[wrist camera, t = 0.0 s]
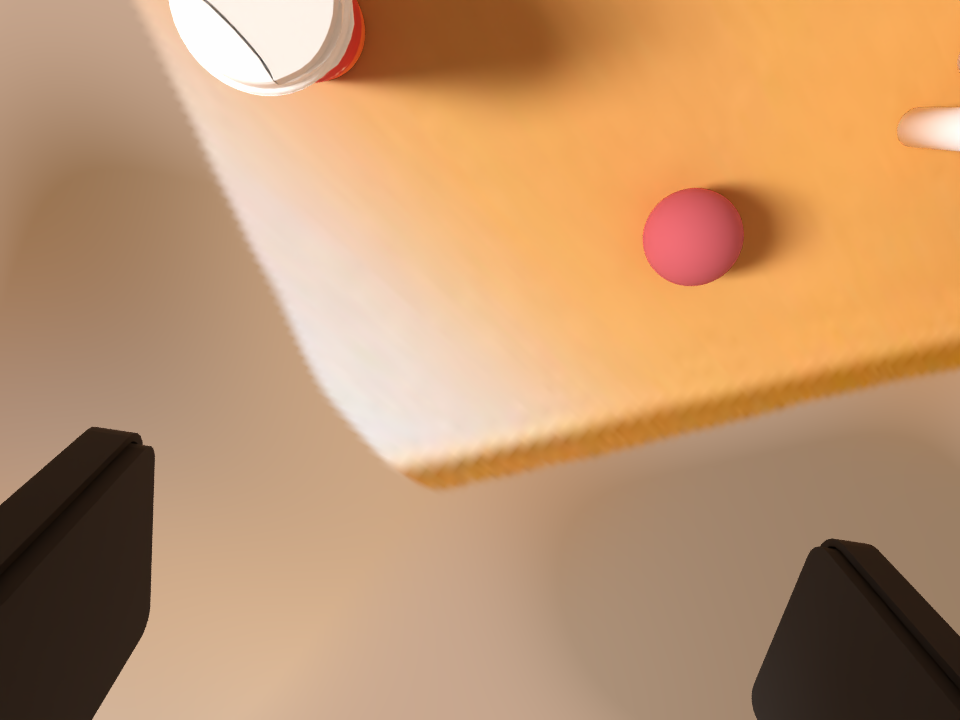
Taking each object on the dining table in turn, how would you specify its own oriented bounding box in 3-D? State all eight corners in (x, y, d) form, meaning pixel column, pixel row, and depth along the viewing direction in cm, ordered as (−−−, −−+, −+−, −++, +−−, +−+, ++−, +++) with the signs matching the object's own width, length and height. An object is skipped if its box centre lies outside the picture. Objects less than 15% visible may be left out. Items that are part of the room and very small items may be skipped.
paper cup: (231, 53, 41) (125, 28, 28) (288, -73, 39) (201, -165, 26) (348, 125, 43) (299, 133, 30) (408, 7, 40) (384, -41, 27)
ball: (620, 206, 45) (643, 220, 39) (707, 167, 44) (744, 176, 39) (649, 287, 47) (675, 312, 41) (733, 252, 46) (771, 272, 40)
